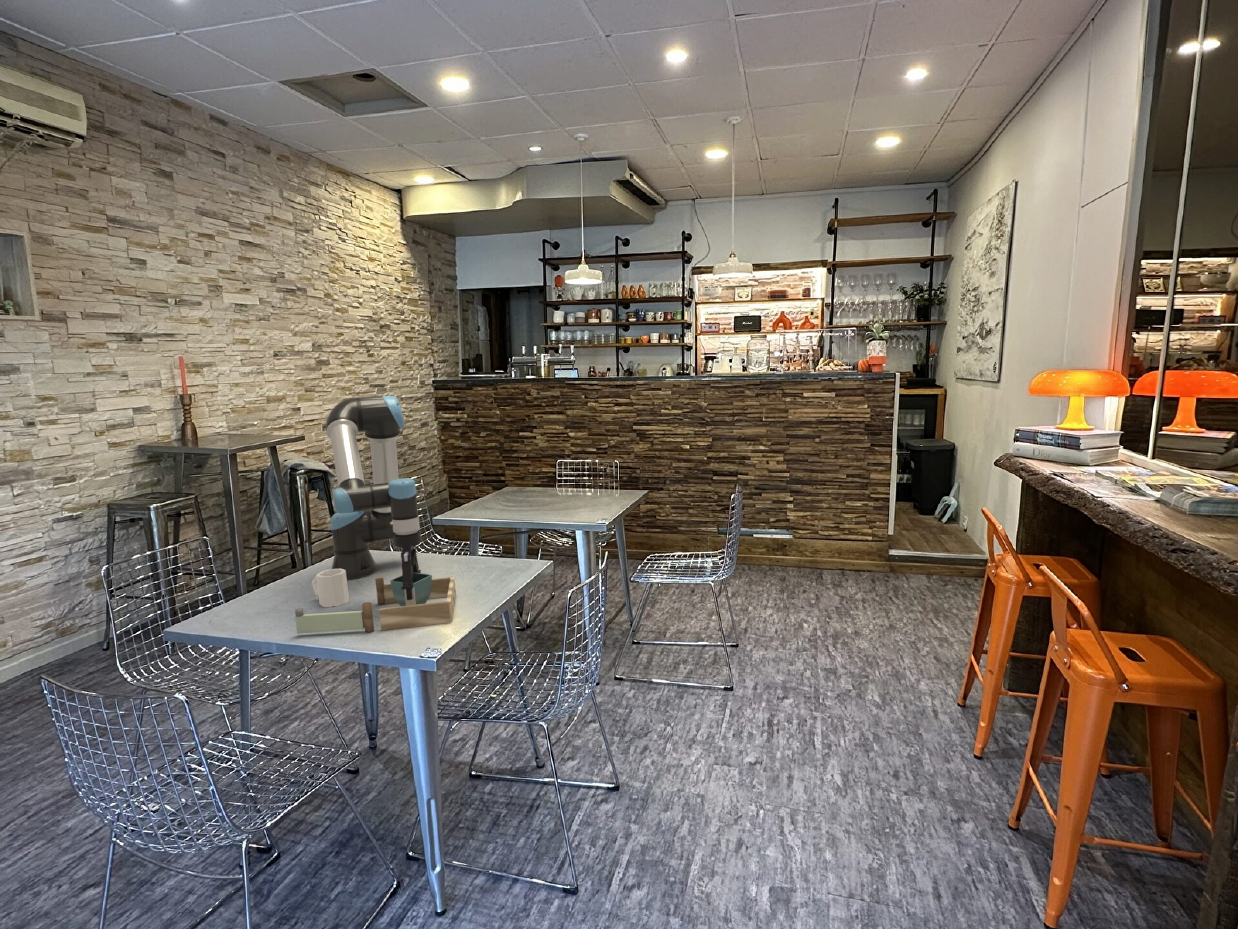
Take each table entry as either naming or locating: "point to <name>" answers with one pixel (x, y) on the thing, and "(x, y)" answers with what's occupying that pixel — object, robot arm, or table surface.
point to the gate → (328, 621)
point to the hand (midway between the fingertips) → (413, 602)
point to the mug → (331, 587)
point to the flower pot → (420, 586)
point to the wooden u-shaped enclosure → (412, 607)
